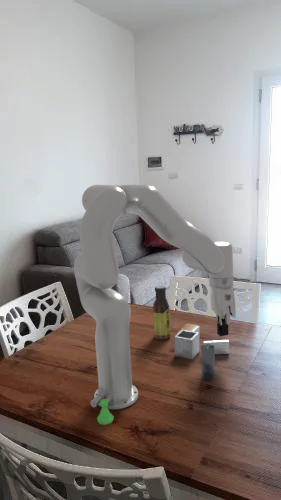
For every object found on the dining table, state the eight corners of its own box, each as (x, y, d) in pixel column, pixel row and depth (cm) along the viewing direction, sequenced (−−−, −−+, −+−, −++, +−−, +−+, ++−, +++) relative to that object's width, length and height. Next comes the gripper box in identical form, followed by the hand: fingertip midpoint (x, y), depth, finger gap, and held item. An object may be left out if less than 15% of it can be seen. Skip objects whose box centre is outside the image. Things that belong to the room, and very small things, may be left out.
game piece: (117, 418, 106) (115, 398, 105) (105, 427, 103) (103, 405, 102) (105, 412, 109) (104, 392, 108) (93, 420, 106) (92, 400, 104)
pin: (212, 381, 121) (211, 351, 119) (199, 379, 123) (199, 348, 121) (216, 375, 124) (216, 345, 122) (204, 372, 126) (203, 343, 124)
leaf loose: (204, 354, 138) (203, 342, 137) (203, 353, 139) (203, 341, 138) (229, 353, 138) (229, 341, 137) (228, 352, 139) (228, 339, 138)
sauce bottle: (171, 340, 151) (169, 289, 147) (154, 340, 151) (152, 290, 147) (170, 333, 157) (168, 284, 153) (154, 333, 158) (152, 284, 153)
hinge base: (192, 359, 135) (191, 339, 134) (167, 354, 140) (166, 335, 139) (210, 338, 151) (210, 320, 149) (187, 334, 155) (187, 317, 154)
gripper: (242, 286, 121) (243, 342, 125) (222, 273, 135) (224, 324, 139) (219, 289, 120) (221, 346, 124) (201, 276, 134) (203, 327, 138)
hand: (222, 334), depth 132 cm, fingers closed
